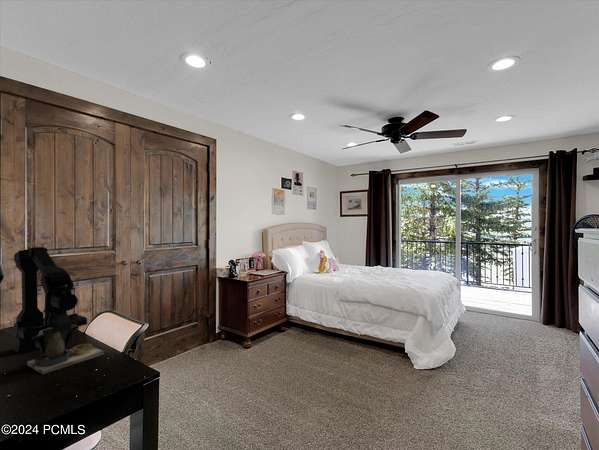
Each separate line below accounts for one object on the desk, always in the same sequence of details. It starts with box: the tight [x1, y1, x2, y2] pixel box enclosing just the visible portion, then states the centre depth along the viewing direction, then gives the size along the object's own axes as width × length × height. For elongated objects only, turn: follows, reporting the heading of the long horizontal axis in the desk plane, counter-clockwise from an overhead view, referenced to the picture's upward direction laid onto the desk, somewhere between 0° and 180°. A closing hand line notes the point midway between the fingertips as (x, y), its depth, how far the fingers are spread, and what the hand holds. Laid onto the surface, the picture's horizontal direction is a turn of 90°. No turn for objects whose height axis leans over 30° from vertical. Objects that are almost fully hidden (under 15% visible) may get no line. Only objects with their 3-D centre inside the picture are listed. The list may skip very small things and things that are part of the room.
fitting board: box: [26, 346, 105, 375], centre depth 111 cm, size 13×19×1 cm
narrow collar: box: [71, 342, 94, 355], centre depth 116 cm, size 6×6×2 cm
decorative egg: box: [44, 330, 66, 359], centre depth 108 cm, size 6×6×10 cm
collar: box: [34, 348, 72, 367], centre depth 108 cm, size 10×10×2 cm
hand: (54, 350), depth 108 cm, fingers closed on decorative egg, 6 cm apart
